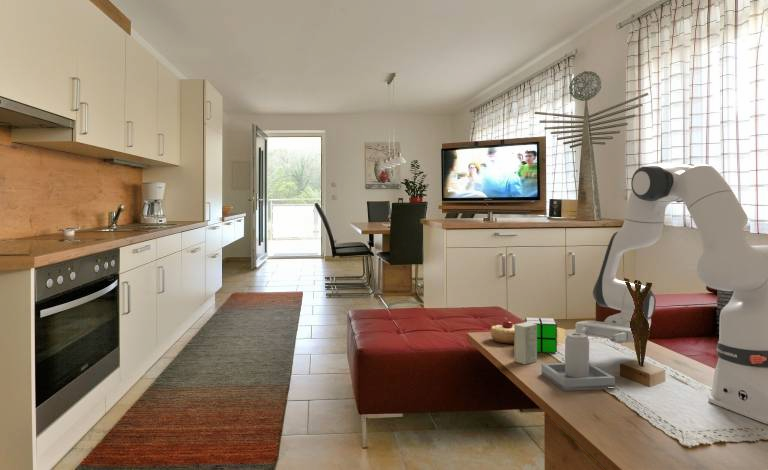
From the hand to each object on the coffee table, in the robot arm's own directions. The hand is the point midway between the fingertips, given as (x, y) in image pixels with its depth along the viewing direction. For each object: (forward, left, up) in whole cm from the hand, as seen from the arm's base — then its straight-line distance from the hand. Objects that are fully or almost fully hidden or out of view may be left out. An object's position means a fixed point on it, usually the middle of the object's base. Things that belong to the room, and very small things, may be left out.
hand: (598, 335), depth 150 cm
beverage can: (-6, +9, -10) cm, 15 cm away
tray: (-6, +10, -11) cm, 16 cm away
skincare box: (+14, +17, -11) cm, 24 cm away
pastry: (+39, +14, -11) cm, 43 cm away
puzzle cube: (+28, +6, -11) cm, 30 cm away
